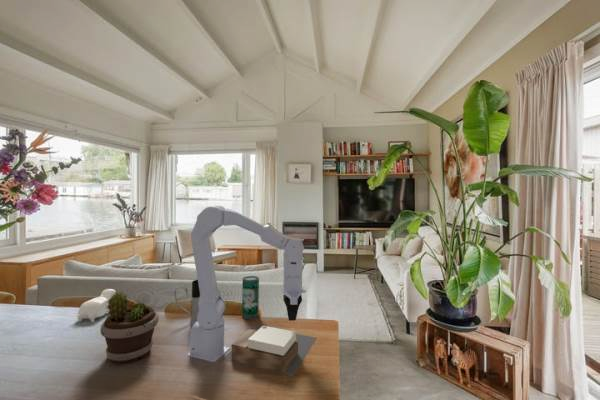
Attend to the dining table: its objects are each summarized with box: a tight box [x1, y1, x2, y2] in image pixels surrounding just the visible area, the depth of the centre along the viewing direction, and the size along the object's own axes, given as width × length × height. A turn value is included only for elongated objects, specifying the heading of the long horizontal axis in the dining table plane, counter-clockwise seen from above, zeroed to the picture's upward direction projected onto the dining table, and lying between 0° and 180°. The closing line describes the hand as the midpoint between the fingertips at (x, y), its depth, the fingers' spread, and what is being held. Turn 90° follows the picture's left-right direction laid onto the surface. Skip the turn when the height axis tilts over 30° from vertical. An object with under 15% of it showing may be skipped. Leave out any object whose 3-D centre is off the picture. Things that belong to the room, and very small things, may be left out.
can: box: [241, 275, 260, 320], centre depth 110 cm, size 6×6×15 cm
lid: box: [248, 325, 297, 356], centre depth 80 cm, size 11×9×3 cm
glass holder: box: [174, 279, 200, 326], centre depth 105 cm, size 9×14×15 cm, turn 103°
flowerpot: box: [99, 288, 159, 364], centre depth 82 cm, size 14×15×20 cm
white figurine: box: [76, 288, 117, 323], centre depth 110 cm, size 9×8×15 cm
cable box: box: [231, 328, 298, 373], centre depth 81 cm, size 16×10×5 cm, turn 70°
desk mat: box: [221, 326, 317, 378], centre depth 86 cm, size 22×22×1 cm
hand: (292, 319), depth 85 cm, fingers closed
